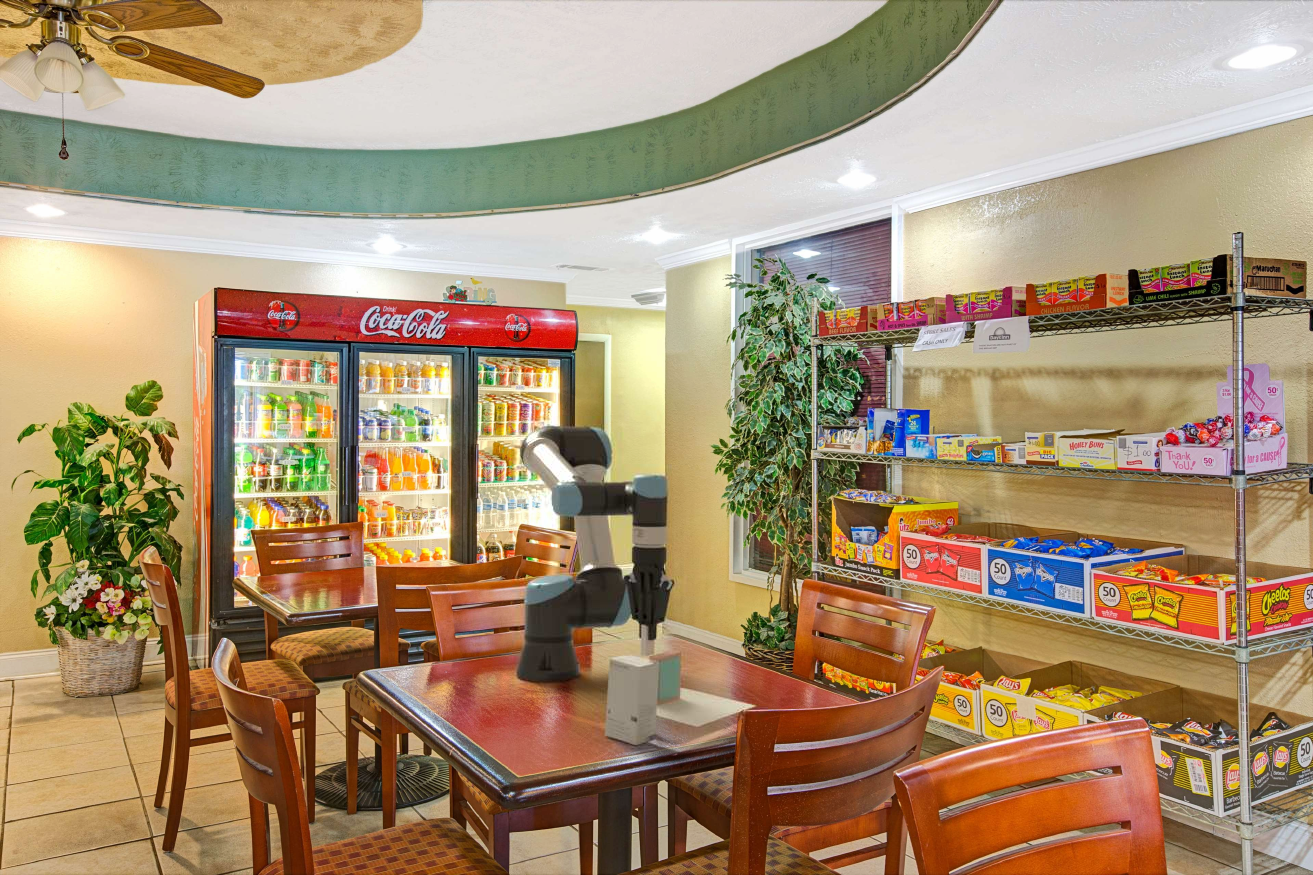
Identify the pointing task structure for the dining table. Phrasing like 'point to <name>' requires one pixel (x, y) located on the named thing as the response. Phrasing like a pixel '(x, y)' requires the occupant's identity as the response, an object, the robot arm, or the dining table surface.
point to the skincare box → (632, 699)
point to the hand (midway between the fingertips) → (647, 654)
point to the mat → (699, 708)
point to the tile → (668, 676)
